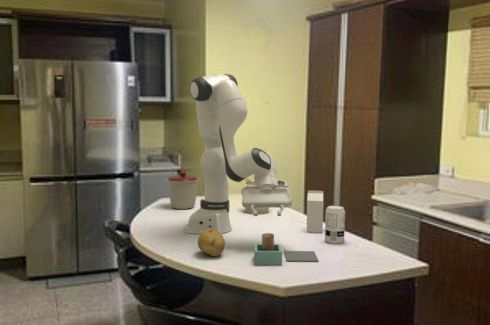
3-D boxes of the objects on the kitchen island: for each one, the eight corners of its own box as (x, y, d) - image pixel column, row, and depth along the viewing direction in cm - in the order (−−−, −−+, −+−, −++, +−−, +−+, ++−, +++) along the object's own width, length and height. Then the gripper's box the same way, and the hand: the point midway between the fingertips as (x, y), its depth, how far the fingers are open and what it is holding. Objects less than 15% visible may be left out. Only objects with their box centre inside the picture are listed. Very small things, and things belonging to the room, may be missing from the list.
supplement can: (322, 239, 213) (323, 205, 211) (341, 238, 214) (342, 205, 212) (327, 244, 205) (328, 209, 203) (346, 244, 206) (347, 209, 204)
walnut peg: (261, 262, 180) (262, 236, 179) (261, 258, 185) (261, 233, 184) (274, 262, 180) (274, 236, 179) (273, 258, 185) (273, 233, 184)
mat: (286, 261, 181) (286, 260, 181) (284, 252, 193) (284, 250, 193) (318, 261, 181) (318, 260, 181) (314, 252, 193) (314, 251, 193)
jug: (276, 211, 269) (276, 166, 266) (262, 216, 256) (262, 169, 253) (252, 207, 277) (253, 164, 275) (237, 212, 264) (238, 167, 262)
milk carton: (321, 233, 223) (323, 192, 221) (306, 232, 224) (307, 191, 222) (322, 229, 230) (323, 189, 228) (307, 228, 231) (308, 189, 229)
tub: (254, 264, 177) (254, 251, 177) (254, 256, 187) (254, 243, 187) (281, 265, 177) (282, 251, 177) (280, 256, 187) (280, 244, 187)
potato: (216, 248, 197) (216, 224, 196) (228, 257, 186) (229, 232, 185) (192, 251, 193) (192, 227, 192) (204, 261, 182) (203, 235, 180)
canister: (197, 211, 267) (197, 173, 264) (164, 210, 267) (163, 173, 265) (200, 204, 285) (200, 169, 282) (169, 204, 285) (169, 168, 283)
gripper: (241, 182, 198) (241, 211, 189) (291, 182, 197) (293, 210, 189) (241, 191, 202) (241, 219, 194) (290, 191, 202) (292, 219, 194)
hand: (267, 215), depth 191 cm, fingers open, 8 cm apart
